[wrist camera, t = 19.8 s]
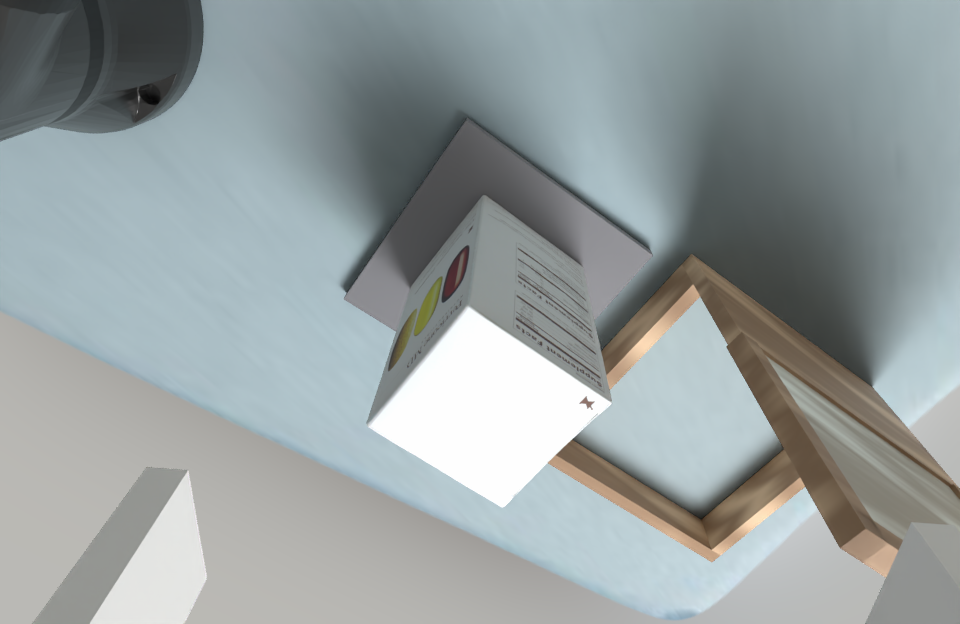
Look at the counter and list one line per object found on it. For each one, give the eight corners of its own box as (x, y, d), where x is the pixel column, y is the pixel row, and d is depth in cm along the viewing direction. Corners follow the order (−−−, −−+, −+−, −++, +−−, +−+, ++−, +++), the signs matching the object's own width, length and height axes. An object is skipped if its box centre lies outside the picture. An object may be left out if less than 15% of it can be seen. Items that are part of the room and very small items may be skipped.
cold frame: (702, 532, 61) (827, 903, 37) (530, 426, 56) (543, 769, 32) (874, 387, 53) (1174, 733, 29) (691, 251, 49) (865, 528, 25)
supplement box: (483, 189, 46) (469, 296, 31) (587, 266, 49) (621, 399, 34) (405, 290, 50) (360, 429, 35) (505, 357, 52) (503, 515, 37)
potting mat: (517, 399, 55) (517, 406, 54) (346, 293, 51) (343, 299, 51) (650, 250, 49) (652, 255, 48) (467, 117, 45) (466, 120, 44)
